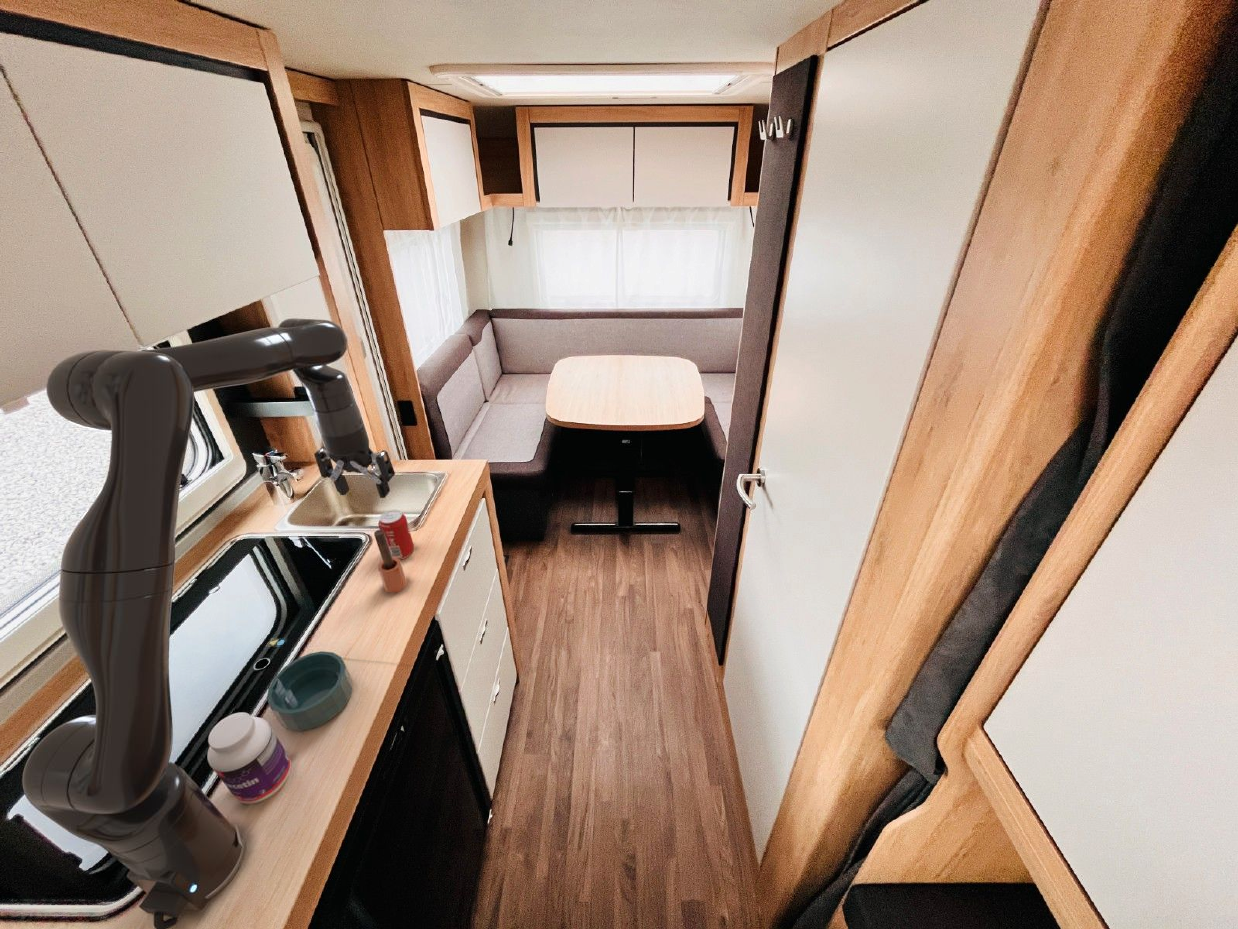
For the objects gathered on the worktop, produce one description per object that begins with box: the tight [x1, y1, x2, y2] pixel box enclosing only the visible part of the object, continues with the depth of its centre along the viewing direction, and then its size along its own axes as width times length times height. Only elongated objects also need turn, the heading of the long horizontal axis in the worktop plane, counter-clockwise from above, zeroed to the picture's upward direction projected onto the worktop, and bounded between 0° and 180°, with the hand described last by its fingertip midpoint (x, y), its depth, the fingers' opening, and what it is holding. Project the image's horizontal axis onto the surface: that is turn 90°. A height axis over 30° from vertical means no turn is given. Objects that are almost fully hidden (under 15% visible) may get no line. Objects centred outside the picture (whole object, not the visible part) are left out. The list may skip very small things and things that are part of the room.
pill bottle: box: [206, 711, 292, 805], centre depth 79 cm, size 8×8×14 cm
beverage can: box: [377, 509, 415, 560], centre depth 125 cm, size 6×6×12 cm
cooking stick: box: [373, 529, 395, 570], centre depth 114 cm, size 2×2×16 cm
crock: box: [377, 557, 408, 594], centre depth 117 cm, size 5×5×7 cm
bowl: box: [266, 651, 354, 732], centre depth 93 cm, size 12×13×6 cm
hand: (365, 494), depth 104 cm, fingers open, 8 cm apart
